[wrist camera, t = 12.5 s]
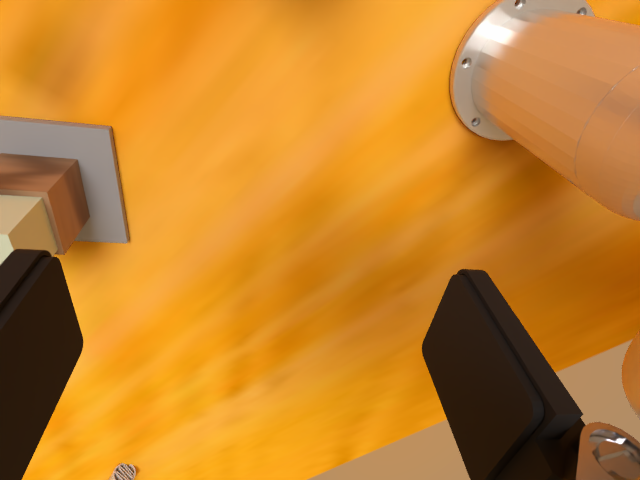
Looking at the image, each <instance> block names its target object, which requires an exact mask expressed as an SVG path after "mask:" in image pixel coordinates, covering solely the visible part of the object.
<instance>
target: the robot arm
mask: <svg viewBox="0 0 640 480" xmlns="http://www.w3.org/2000/svg"><path fill="white" fill-rule="evenodd" d="M515 2H516V0H498V1H496V2H495V3H494V4H492V5H491V6H490V7H488V8H487V9H486V10H485V11H484V12H483V13H482V14H481V15H480V16H479V17H478V18H477V19H476V21H475V22H474V23H473V25H472V26H471V27H470V29H469V30H468V31H467V33H466V34H465V36H464V38H463V40H462V42H461V44H460V46H459V47H458V50H457V53H456V55H455V58H454V61H453V64H452V70H451V75H450V95H451V100H452V105H453V107H454V109H455V112H456V114H457V116H458V117H459V118H460V120H461V121H462V122H463V124H464V125H465V126H467V127H468V128H469V129H470V130H471V131H473V132H474V133H476V134H478V135H479V136H481V137H484V138H487V139H490V140H499V141H505V140H515V141H516V142H518V143H519V144H520V145H522V146H523V147H524V148H526V149H527V150H528V151H530V152H531V153H532V154H534V155H535V156H536V157H538V158H539V159H540V160H542V161H543V162H544V163H546V164H547V165H548V166H550V167H551V168H552V169H554V170H555V171H556V172H558V173H559V174H560V175H562V176H563V177H564V178H566V179H567V180H568V181H570V182H571V183H572V184H574V185H575V186H576V187H578V188H579V189H580V190H582V191H583V192H584V193H586V194H587V195H589V196H590V197H592V198H593V199H594V200H596V201H597V202H598V203H600V204H601V205H602V206H604V207H606V208H607V209H609V210H611V211H612V212H614V213H616V214H619V215H621V216H624V217H626V218H630V219H634V220H638V221H640V26H639V25H634V24H629V23H623V22H618V21H613V20H608V19H602V18H597V17H595V15H594V13H593V11H592V8H591V7H590V5H589V4H588V3H587V2H586V0H517V3H516V5H515ZM464 59H465V62H464V63H463V64H462V61H463V60H464ZM473 119H474V120H473ZM472 120H473V121H472ZM82 348H83V337H82V333H81V330H80V327H79V323H78V320H77V317H76V313H75V310H74V307H73V303H72V300H71V296H70V293H69V290H68V286H67V283H66V280H65V276H64V273H63V269H62V266H61V263H60V260H59V259H58V258H57V257H52V255H51V253H50V252H49V251H47V250H33V249H16V250H14V251H12V252H11V253H10V254H9V256H8V257H7V258H6V259H5V260H4V261H3V262H2V264H1V265H0V480H22V477H23V475H24V473H25V471H26V469H27V467H28V465H29V463H30V460H31V458H32V456H33V454H34V452H35V450H36V448H37V446H38V444H39V441H40V439H41V437H42V435H43V433H44V431H45V429H46V427H47V424H48V422H49V420H50V418H51V416H52V414H53V412H54V410H55V407H56V405H57V403H58V401H59V399H60V397H61V395H62V393H63V391H64V388H65V386H66V384H67V382H68V380H69V378H70V376H71V374H72V371H73V369H74V367H75V365H76V363H77V361H78V359H79V357H80V354H81V352H82ZM422 353H423V357H424V360H425V362H426V365H427V367H428V370H429V373H430V375H431V378H432V380H433V383H434V386H435V388H436V391H437V393H438V396H439V399H440V401H441V404H442V407H443V409H444V412H445V414H446V417H447V420H448V422H449V425H450V427H451V430H452V433H453V435H454V438H455V440H456V443H457V446H458V448H459V451H460V453H461V456H462V459H463V461H464V464H465V467H466V469H467V472H468V474H469V477H470V479H471V480H640V443H639V442H638V441H637V440H636V439H635V438H634V437H632V436H631V435H629V434H628V433H626V432H625V431H623V430H621V429H619V428H617V427H615V426H612V425H610V424H606V423H601V422H594V423H589V424H587V425H585V424H584V422H583V421H582V419H581V418H580V417H581V416H582V415H583V413H582V412H581V410H580V409H579V407H578V406H577V404H576V403H575V401H574V400H573V398H572V397H571V396H570V394H569V393H568V391H567V390H566V388H565V387H564V385H563V384H562V382H561V381H560V380H559V378H558V376H557V375H556V374H555V372H554V371H553V369H552V368H551V366H550V365H549V363H548V362H547V360H546V359H545V357H544V356H543V355H542V353H541V352H540V350H539V349H538V347H537V346H536V344H535V343H534V341H533V340H532V338H531V337H530V335H529V334H528V333H527V331H526V330H525V328H524V327H523V325H522V324H521V322H520V321H519V319H518V318H517V316H516V315H515V314H514V312H513V311H512V309H511V308H510V306H509V305H508V303H507V302H506V300H505V299H504V297H503V296H502V294H501V293H500V292H499V290H498V289H497V287H496V286H495V284H494V283H493V281H492V280H491V278H490V277H489V275H488V274H487V273H486V272H485V271H483V270H468V269H462V270H460V271H458V273H457V275H456V274H455V275H453V276H452V277H451V279H450V281H449V283H448V285H447V288H446V290H445V292H444V295H443V297H442V299H441V302H440V304H439V306H438V309H437V311H436V313H435V315H434V318H433V320H432V322H431V325H430V327H429V329H428V332H427V334H426V336H425V339H424V341H423V344H422ZM622 383H623V387H624V391H625V394H626V397H627V399H628V401H629V403H630V406H631V407H632V409H633V410H634V412H635V414H636V415H637V416H638V418H639V419H640V330H639V332H638V333H637V334H636V336H635V338H634V339H633V341H632V342H631V344H630V346H629V348H628V350H627V352H626V354H625V358H624V361H623V365H622Z"/></svg>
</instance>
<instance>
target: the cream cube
mask: <svg viewBox="0 0 640 480" xmlns="http://www.w3.org/2000/svg"><path fill="white" fill-rule="evenodd" d="M16 249H33V250H47V251H49V252H50V253H51V255H52V257H53V256H54V254H55V253H56V252H57V250H58V248H57V245H56V241H55V238H54V235H53V231H52V228H51V225H50V221H49V218H48V215H47V212H46V208H45V205H44V202H43V198H42V197H27V196H11V195H0V265H1V264H2V262H3V261H4V260H5V259H6V258H7V257H8V256H9V254H10V253H11V252H12V251H14V250H16Z"/></svg>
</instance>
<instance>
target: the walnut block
mask: <svg viewBox="0 0 640 480" xmlns="http://www.w3.org/2000/svg"><path fill="white" fill-rule="evenodd" d="M0 195H11V196H27V197H42V198H43V202H44V205H45V208H46V212H47V215H48V218H49V221H50V225H51V228H52V231H53V235H54V238H55V241H56V245H57V248H58V250H57V252H56V253H55V254H61V255H65V253H66V252H67V250H68V249H69V247H70V246H71V244H72V243H73V241H74V240H75V238H76V237H77V235H78V234H79V233H80V231H81V230H82V228H83V227H84V225H85V224H86V222H87V221H88V219H89V218H90V214H89V209H88V205H87V200H86V196H85V191H84V187H83V182H82V178H81V173H80V169H79V164H78V159H68V158H56V157H44V156H31V155H19V154H7V153H1V154H0Z"/></svg>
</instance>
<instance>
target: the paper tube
mask: <svg viewBox="0 0 640 480" xmlns="http://www.w3.org/2000/svg"><path fill="white" fill-rule="evenodd" d="M135 475H136V469H135V467H134V466H133V465H131V464H130V465H129V467H128V466H127V465H126V464H124V463H121V464H119V465H118V466H117V467H116V468H115V470H114V471H113V473H112V475H111V476H110V478H109V480H133V479H134V478H135Z"/></svg>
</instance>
